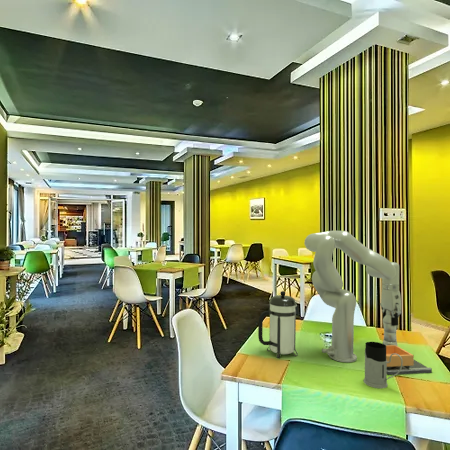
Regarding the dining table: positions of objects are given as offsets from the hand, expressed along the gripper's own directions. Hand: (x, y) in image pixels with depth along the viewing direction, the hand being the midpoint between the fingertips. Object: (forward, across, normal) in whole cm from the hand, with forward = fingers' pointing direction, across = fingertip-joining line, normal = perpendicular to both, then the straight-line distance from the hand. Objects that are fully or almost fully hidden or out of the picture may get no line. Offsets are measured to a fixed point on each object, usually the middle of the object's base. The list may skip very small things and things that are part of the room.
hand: (390, 322), depth 165 cm
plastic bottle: (+14, 0, 0) cm, 14 cm away
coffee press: (+14, +1, +56) cm, 58 cm away
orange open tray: (+12, -19, +12) cm, 26 cm away
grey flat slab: (+14, -19, +8) cm, 25 cm away
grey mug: (+14, -34, +26) cm, 45 cm away
